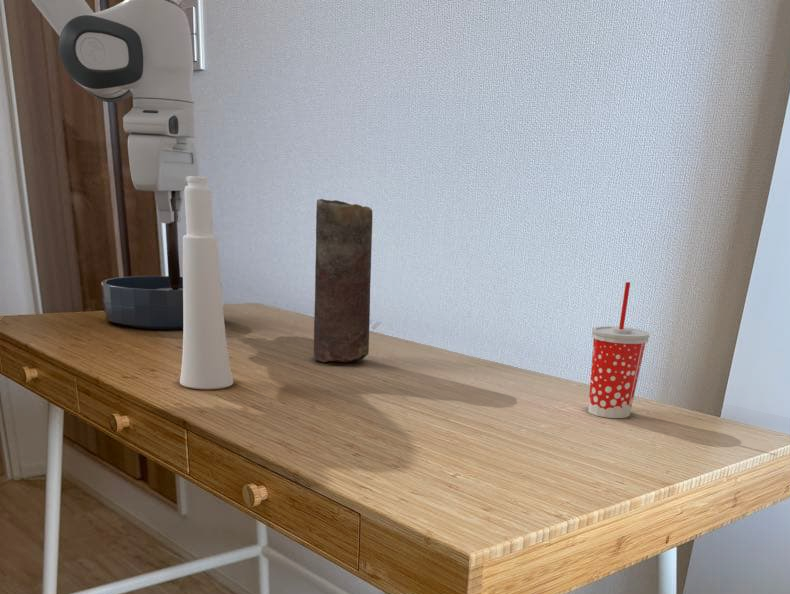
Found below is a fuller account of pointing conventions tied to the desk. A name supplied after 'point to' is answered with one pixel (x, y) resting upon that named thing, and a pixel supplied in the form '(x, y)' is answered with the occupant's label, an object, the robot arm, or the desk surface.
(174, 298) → the bowl
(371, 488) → the desk surface
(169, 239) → the ladle
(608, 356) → the beverage cup
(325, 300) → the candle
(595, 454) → the desk surface
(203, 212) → the cosmetic bottle
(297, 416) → the desk surface
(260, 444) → the desk surface
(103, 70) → the robot arm
